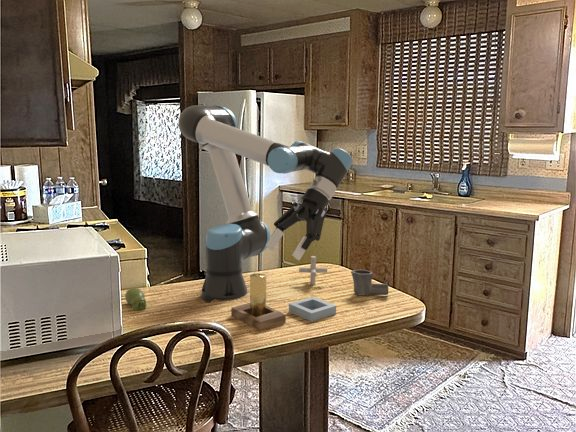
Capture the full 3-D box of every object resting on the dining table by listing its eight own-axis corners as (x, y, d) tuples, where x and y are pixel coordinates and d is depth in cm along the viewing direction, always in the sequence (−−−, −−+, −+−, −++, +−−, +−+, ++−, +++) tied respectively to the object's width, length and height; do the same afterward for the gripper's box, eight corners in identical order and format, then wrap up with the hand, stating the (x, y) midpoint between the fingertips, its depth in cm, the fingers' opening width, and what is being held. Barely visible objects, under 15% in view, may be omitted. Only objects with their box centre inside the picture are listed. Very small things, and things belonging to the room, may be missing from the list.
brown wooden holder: (231, 320, 158) (231, 307, 158) (255, 313, 164) (255, 301, 163) (260, 335, 148) (260, 322, 147) (285, 327, 154) (285, 314, 153)
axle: (247, 320, 155) (247, 276, 152) (254, 315, 159) (254, 272, 156) (261, 323, 153) (261, 279, 150) (268, 317, 157) (269, 274, 154)
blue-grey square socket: (288, 316, 162) (288, 303, 162) (313, 308, 169) (313, 296, 168) (311, 326, 155) (311, 313, 154) (335, 318, 161) (336, 305, 160)
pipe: (387, 299, 179) (389, 275, 177) (349, 296, 181) (350, 273, 180) (388, 293, 185) (389, 270, 183) (350, 290, 187) (351, 268, 186)
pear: (140, 283, 173) (150, 298, 165) (139, 298, 175) (150, 313, 167) (122, 286, 170) (132, 301, 162) (122, 301, 172) (132, 316, 164)
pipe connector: (327, 288, 188) (328, 260, 187) (298, 287, 189) (299, 260, 187) (325, 279, 198) (326, 253, 196) (298, 279, 198) (299, 252, 197)
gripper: (287, 182, 171) (251, 238, 167) (338, 191, 151) (299, 255, 147) (301, 196, 176) (266, 250, 171) (353, 206, 156) (315, 268, 151)
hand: (281, 253), depth 159 cm, fingers open, 13 cm apart
